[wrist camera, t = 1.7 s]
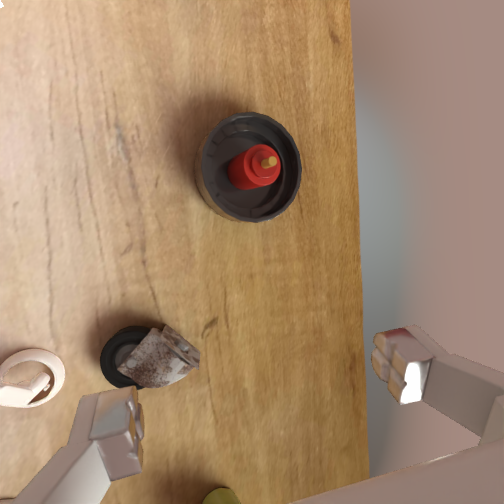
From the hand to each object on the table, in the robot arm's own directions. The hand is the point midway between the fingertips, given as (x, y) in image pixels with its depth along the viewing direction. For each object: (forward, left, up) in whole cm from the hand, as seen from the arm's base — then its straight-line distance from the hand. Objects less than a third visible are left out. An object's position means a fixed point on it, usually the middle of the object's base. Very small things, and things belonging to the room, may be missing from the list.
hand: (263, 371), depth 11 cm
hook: (+6, -21, -40) cm, 45 cm away
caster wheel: (+12, -8, -40) cm, 42 cm away
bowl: (-4, +18, -40) cm, 44 cm away
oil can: (-4, +18, -39) cm, 43 cm away
